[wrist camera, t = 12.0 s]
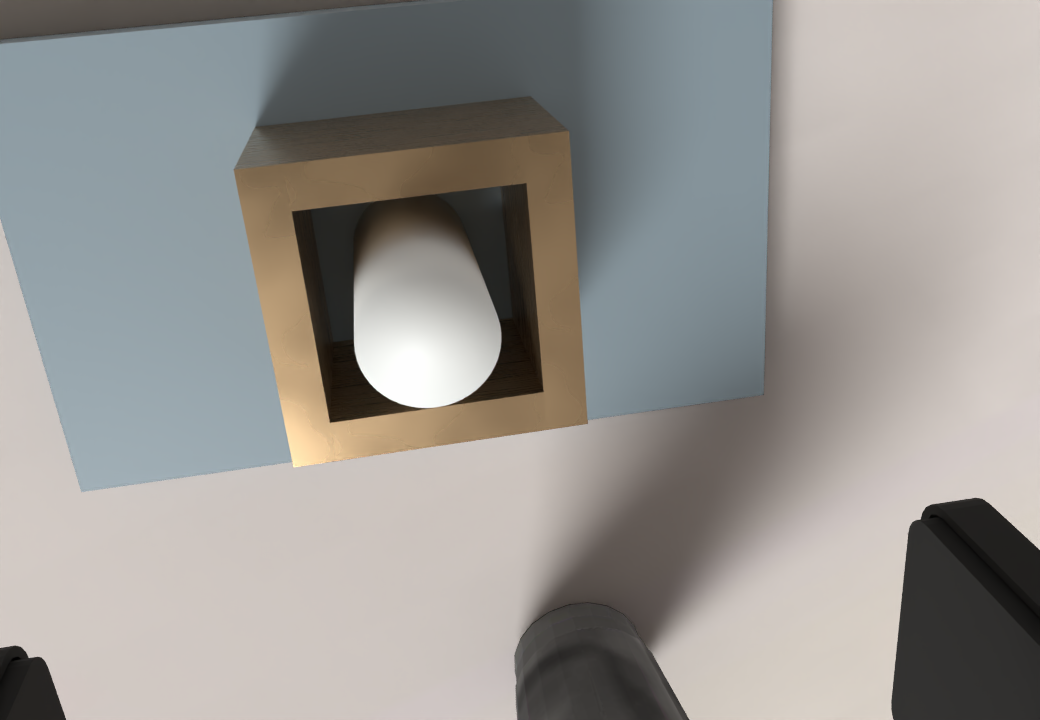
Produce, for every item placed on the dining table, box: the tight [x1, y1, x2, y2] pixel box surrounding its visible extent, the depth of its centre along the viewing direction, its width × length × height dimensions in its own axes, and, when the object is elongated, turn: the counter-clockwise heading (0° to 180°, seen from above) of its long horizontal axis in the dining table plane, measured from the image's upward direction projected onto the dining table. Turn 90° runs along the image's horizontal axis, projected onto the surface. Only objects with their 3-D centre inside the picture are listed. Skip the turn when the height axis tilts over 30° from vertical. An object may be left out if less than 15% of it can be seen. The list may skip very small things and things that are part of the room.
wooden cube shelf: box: [234, 96, 588, 467], centre depth 24 cm, size 7×7×5 cm
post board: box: [0, 0, 773, 492], centre depth 24 cm, size 20×12×8 cm, turn 94°
